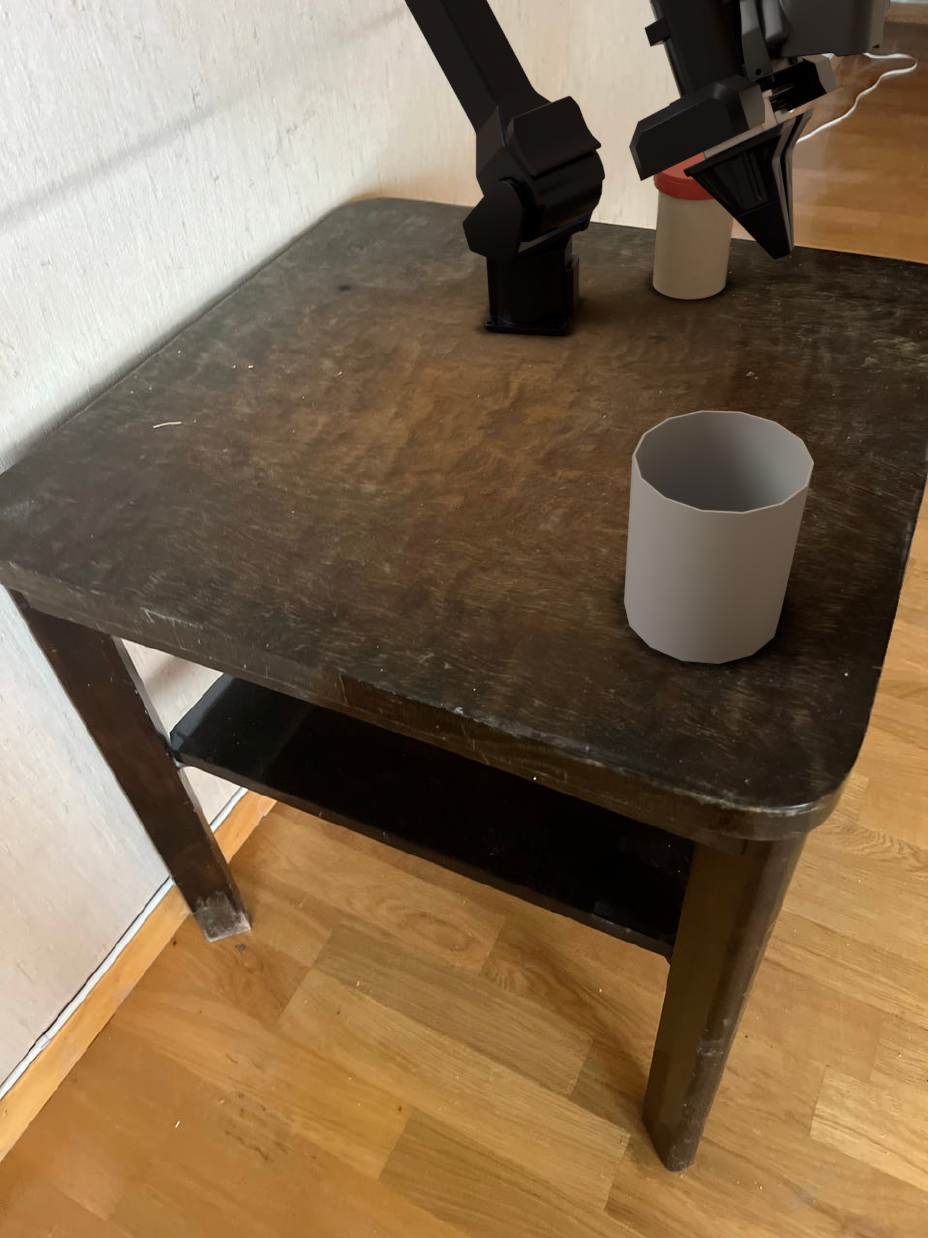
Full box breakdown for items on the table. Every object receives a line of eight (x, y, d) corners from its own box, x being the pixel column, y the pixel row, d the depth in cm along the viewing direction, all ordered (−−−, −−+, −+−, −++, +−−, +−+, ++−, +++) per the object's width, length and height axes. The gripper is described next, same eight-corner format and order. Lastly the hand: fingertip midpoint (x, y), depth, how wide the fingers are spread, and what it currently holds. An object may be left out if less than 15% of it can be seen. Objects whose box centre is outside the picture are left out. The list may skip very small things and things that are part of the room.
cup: (812, 624, 51) (852, 473, 44) (688, 686, 48) (708, 536, 41) (712, 539, 56) (732, 392, 49) (596, 591, 54) (600, 444, 47)
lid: (647, 198, 72) (648, 177, 71) (658, 164, 77) (659, 145, 76) (740, 200, 71) (742, 179, 70) (745, 166, 75) (748, 146, 74)
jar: (648, 297, 78) (655, 182, 72) (657, 265, 82) (664, 153, 76) (722, 301, 77) (737, 184, 70) (728, 268, 81) (742, 154, 74)
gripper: (796, -118, 41) (891, 241, 45) (888, -107, 53) (954, 172, 58) (579, 19, 48) (682, 315, 53) (706, -1, 61) (779, 239, 66)
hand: (784, 255), depth 57 cm, fingers closed
